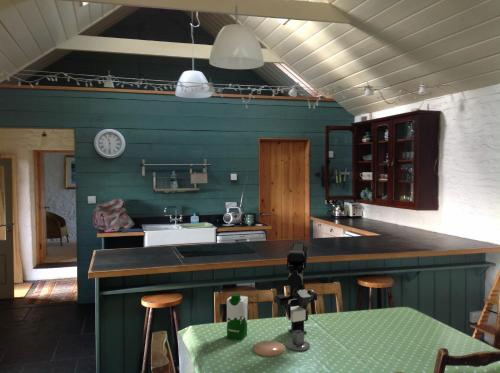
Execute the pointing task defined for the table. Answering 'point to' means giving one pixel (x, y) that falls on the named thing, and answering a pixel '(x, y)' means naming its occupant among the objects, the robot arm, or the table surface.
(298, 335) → the grey rounded piece
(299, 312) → the cream colored cube
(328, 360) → the table surface
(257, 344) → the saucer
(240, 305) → the milk carton
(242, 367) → the table surface
